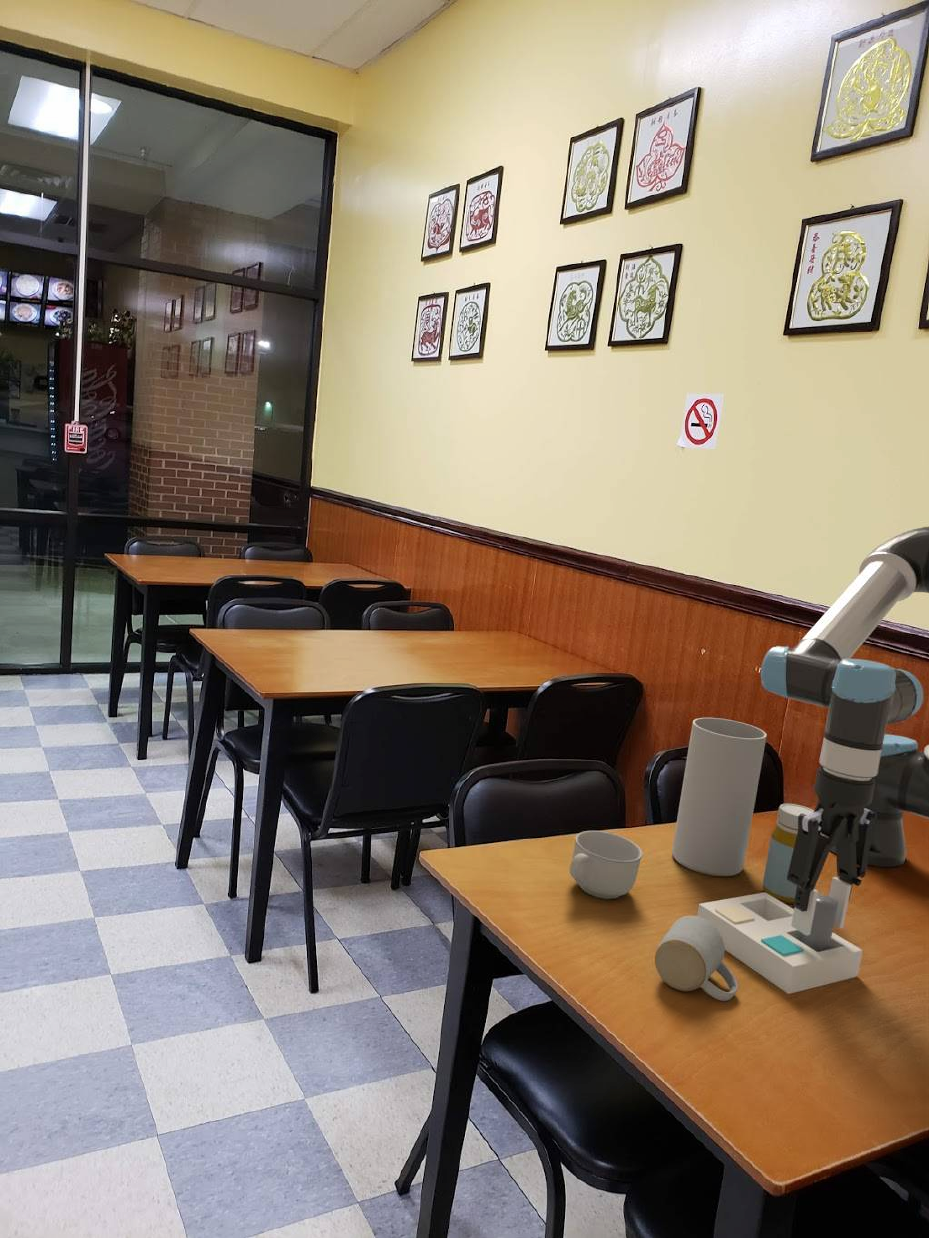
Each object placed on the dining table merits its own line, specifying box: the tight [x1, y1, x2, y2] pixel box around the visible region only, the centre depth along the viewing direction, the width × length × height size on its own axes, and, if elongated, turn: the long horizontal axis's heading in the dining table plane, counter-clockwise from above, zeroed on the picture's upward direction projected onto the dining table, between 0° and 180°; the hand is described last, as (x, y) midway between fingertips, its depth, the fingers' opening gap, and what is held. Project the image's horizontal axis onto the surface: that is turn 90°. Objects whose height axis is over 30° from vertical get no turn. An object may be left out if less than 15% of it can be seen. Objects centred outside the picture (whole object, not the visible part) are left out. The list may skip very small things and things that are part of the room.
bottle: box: [761, 803, 814, 905], centre depth 151 cm, size 7×7×15 cm
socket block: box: [696, 891, 864, 995], centre depth 132 cm, size 14×18×4 cm
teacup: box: [569, 830, 643, 900], centre depth 145 cm, size 14×11×8 cm
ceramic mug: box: [654, 915, 739, 1002], centre depth 120 cm, size 11×8×8 cm
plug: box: [799, 893, 838, 952], centre depth 129 cm, size 4×4×10 cm
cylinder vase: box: [671, 717, 768, 877], centre depth 160 cm, size 12×12×25 cm
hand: (817, 926), depth 129 cm, fingers open, 6 cm apart
